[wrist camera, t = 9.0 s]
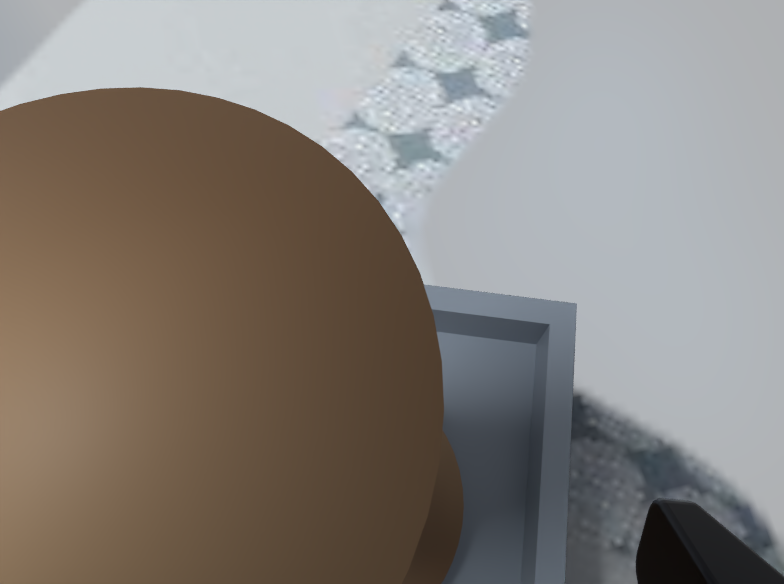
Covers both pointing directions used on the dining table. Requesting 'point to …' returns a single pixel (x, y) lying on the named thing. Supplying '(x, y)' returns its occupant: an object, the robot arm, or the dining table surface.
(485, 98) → the dining table surface
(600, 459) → the dining table surface
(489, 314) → the box
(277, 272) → the walnut handle
